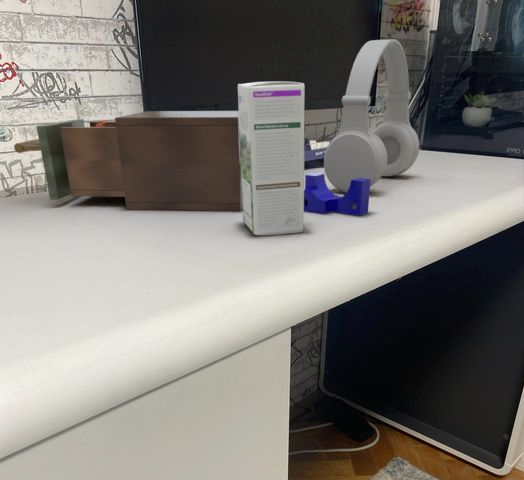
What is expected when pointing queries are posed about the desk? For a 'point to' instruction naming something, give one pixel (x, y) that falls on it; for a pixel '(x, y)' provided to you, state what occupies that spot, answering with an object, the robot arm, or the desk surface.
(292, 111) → the syrup box
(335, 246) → the desk surface
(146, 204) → the cabinet
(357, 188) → the cable holder
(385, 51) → the headphones
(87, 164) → the drawer
